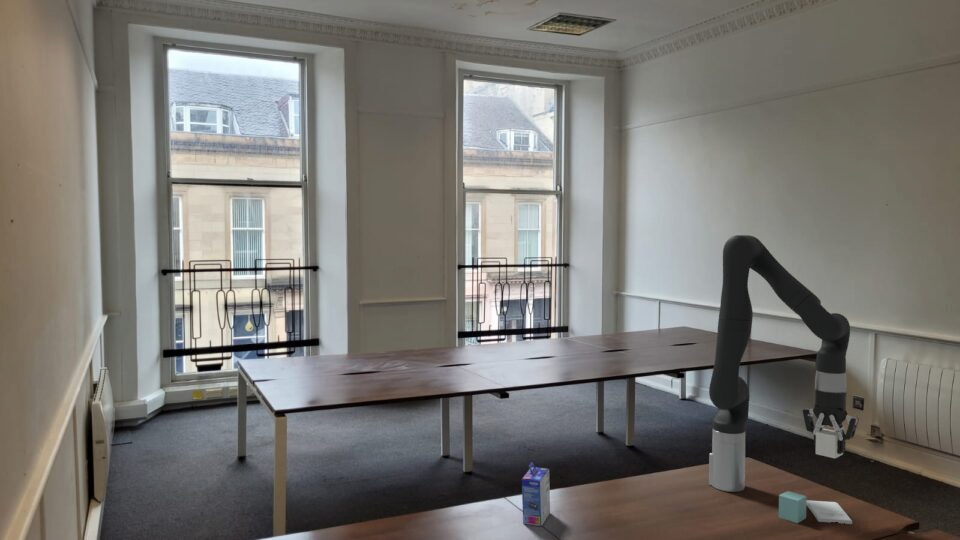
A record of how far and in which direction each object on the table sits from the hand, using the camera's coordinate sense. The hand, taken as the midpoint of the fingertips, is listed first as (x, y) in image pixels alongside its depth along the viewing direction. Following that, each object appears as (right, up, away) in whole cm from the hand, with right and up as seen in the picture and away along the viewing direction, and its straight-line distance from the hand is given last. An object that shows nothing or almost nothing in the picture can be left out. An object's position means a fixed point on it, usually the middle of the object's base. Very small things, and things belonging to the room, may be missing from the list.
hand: (829, 450), depth 182 cm
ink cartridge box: (-79, -18, -2) cm, 81 cm away
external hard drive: (0, -18, +1) cm, 18 cm away
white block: (0, -1, 0) cm, 1 cm away
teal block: (-11, -17, -2) cm, 21 cm away
